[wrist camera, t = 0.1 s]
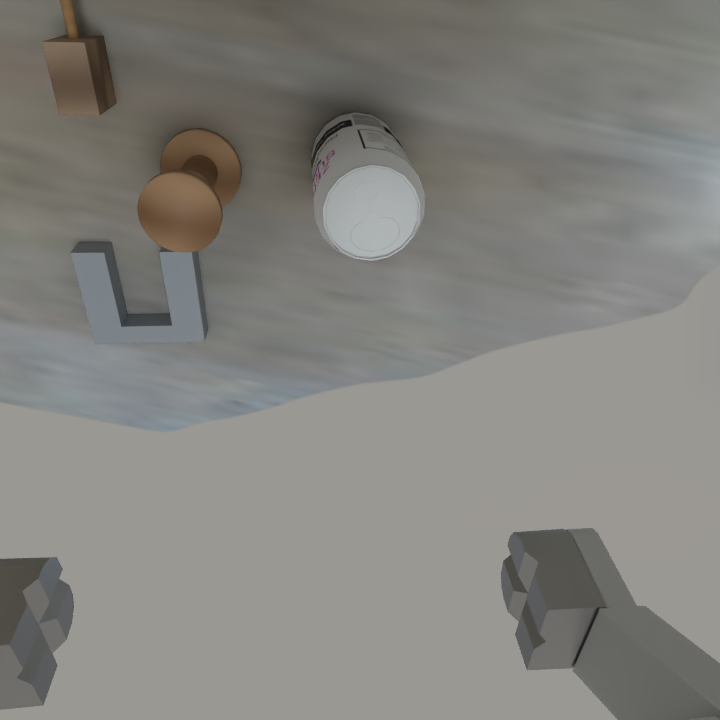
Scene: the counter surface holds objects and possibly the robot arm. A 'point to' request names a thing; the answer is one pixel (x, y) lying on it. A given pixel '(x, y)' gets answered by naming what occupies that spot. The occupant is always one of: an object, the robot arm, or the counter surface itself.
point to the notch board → (120, 328)
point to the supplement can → (364, 188)
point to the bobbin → (190, 191)
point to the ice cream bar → (79, 69)
